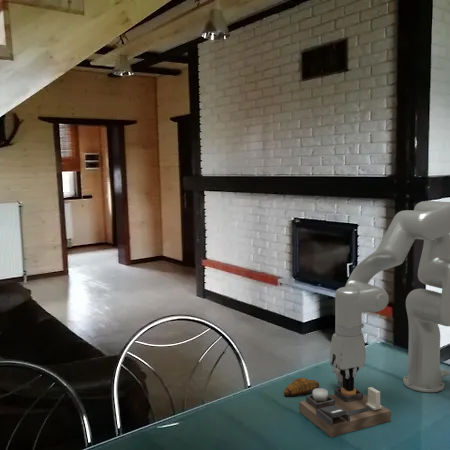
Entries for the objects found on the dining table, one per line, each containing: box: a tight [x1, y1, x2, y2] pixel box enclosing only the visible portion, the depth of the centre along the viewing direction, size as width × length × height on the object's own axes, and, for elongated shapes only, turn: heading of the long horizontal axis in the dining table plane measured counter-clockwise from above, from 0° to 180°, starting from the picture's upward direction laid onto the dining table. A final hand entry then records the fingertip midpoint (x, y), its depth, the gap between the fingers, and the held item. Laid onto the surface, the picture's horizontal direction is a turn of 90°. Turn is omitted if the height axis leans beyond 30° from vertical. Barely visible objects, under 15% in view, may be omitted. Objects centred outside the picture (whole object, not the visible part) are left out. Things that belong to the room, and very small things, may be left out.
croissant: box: [283, 377, 320, 397], centre depth 161 cm, size 14×7×5 cm, turn 119°
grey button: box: [312, 387, 329, 401], centre depth 146 cm, size 4×4×2 cm
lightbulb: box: [331, 365, 343, 388], centre depth 163 cm, size 6×6×11 cm
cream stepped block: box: [366, 386, 383, 410], centre depth 143 cm, size 3×4×5 cm
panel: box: [298, 387, 392, 438], centre depth 145 cm, size 20×16×5 cm
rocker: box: [320, 405, 346, 418], centre depth 138 cm, size 4×6×1 cm
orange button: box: [341, 387, 357, 396], centre depth 150 cm, size 4×4×2 cm
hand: (348, 389), depth 150 cm, fingers closed
